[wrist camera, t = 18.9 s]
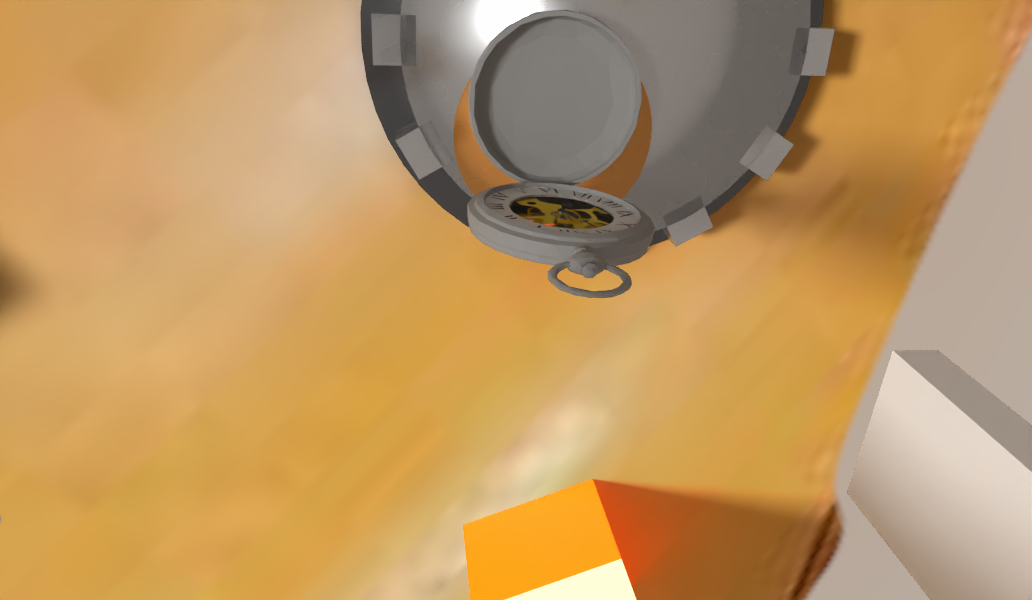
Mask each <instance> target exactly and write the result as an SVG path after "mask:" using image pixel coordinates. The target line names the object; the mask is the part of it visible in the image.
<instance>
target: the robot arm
mask: <svg viewBox="0 0 1032 600" xmlns="http://www.w3.org/2000/svg"><path fill="white" fill-rule="evenodd" d="M847 493H848V495H849V496H850V497H851V498H852V500H853V501H854V502H855V504H856V505H857V506H858V507H859V509H860V510H861V511H862V513H863V514H864V515H865V517H866V518H867V519H868V520H869V522H870V523H871V524H872V525H873V526H874V528H875V529H876V531H877V532H878V533H879V535H880V536H881V537H882V538H883V539H884V541H885V542H886V543H887V545H888V546H889V547H890V549H891V550H892V551H893V553H894V554H895V555H896V556H897V558H898V559H899V560H900V562H901V563H902V564H903V565H904V567H905V568H906V569H907V570H908V572H909V573H910V574H911V576H912V577H913V578H914V580H915V581H916V582H917V583H918V585H919V586H920V587H921V588H922V590H923V591H924V592H925V594H926V595H927V596H928V598H929V599H930V600H1032V425H1031V424H1030V423H1028V422H1027V421H1026V420H1024V419H1023V418H1022V417H1021V416H1020V415H1018V414H1017V413H1016V412H1015V411H1013V410H1012V409H1011V408H1010V407H1008V406H1007V405H1006V404H1005V403H1003V402H1002V401H1001V400H1000V399H998V398H997V397H996V396H995V395H993V394H992V393H991V392H990V391H988V390H987V389H986V388H984V387H983V386H982V385H981V384H980V383H978V382H977V381H976V380H975V379H973V378H972V377H971V376H970V375H968V374H967V373H966V372H965V371H963V370H962V369H961V368H960V367H958V366H957V365H956V364H955V363H953V362H952V361H951V360H950V359H948V358H947V357H946V356H945V355H943V354H942V353H941V352H940V351H938V350H923V351H922V350H919V351H917V350H916V351H914V350H911V351H910V350H906V351H893V352H892V355H891V358H890V362H889V364H888V368H887V371H886V374H885V377H884V380H883V383H882V386H881V389H880V392H879V395H878V399H877V401H876V405H875V408H874V411H873V414H872V417H871V420H870V423H869V426H868V429H867V432H866V435H865V438H864V442H863V444H862V448H861V451H860V454H859V457H858V460H857V463H856V466H855V469H854V472H853V475H852V478H851V482H850V484H849V488H848V491H847ZM0 523H1V517H0Z"/></svg>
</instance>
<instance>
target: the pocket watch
mask: <svg viewBox="0 0 1032 600" xmlns="http://www.w3.org/2000/svg"><path fill="white" fill-rule="evenodd" d="M641 101H642V98H641V81H640V77H639V73H638V68H637V65H636V63H635V61H634V59H633V57H632V54H631V52H630V51H629V49H628V48H627V46H626V45H625V44H624V42H623V41H622V39H621V38H620V37H619V36H618V35H617V34H616V33H615V32H614V31H612V30H611V29H610V28H609V27H608V26H607V25H606V24H604V23H603V22H601V21H599V20H598V19H596V18H594V17H591V16H587V15H584V14H580V13H577V12H573V11H569V10H553V11H541V12H534V13H532V14H530V15H528V16H526V17H522V18H521V19H519V20H518V21H516V22H514V23H512V24H510V25H508V26H506V27H505V28H504V29H503V30H502V31H501V32H499V33H498V35H497V36H496V37H495V38H494V39H492V40H491V41H490V43H489V44H488V46H487V47H486V48H485V50H484V51H483V53H482V55H481V56H480V58H479V59H478V61H477V64H476V67H475V70H474V73H473V76H472V79H471V82H470V87H469V90H468V102H469V119H470V123H471V126H472V129H473V132H474V135H475V138H476V141H477V143H478V145H479V146H480V148H481V150H482V151H483V153H484V154H485V155H486V156H487V157H488V158H489V160H490V161H491V162H492V163H493V164H494V165H495V166H496V167H497V168H498V169H499V170H500V171H502V172H503V173H504V174H506V175H507V176H509V177H510V178H512V179H514V180H516V181H518V182H521V183H511V184H505V185H500V186H495V187H492V188H489V189H487V190H484V191H483V192H481V193H479V194H477V195H475V196H473V197H472V199H471V200H470V201H469V202H468V204H467V215H468V222H469V226H470V230H471V233H472V234H473V235H474V236H475V237H476V238H477V239H478V240H479V241H481V242H482V243H483V244H485V245H487V246H489V247H491V248H493V249H495V250H497V251H500V252H502V253H505V254H508V255H511V256H513V257H516V258H520V259H524V260H528V261H532V262H536V263H542V264H549V265H555V266H554V267H552V268H551V269H550V270H549V271H548V279H549V281H550V282H551V283H552V284H553V285H554V286H555V287H557V288H558V289H560V290H561V291H564V292H567V293H570V294H573V295H576V296H583V297H589V298H608V297H614V296H617V295H620V294H622V293H624V292H625V291H627V290H629V289H630V287H631V285H632V283H631V278H630V276H629V275H628V273H626V272H625V271H623V270H622V269H620V268H618V267H616V266H618V265H622V264H626V263H630V262H632V261H635V260H637V259H639V258H641V257H642V256H643V255H644V254H645V253H646V252H647V249H648V247H649V245H650V243H651V242H652V239H653V235H654V230H655V226H654V224H653V222H652V220H651V218H650V217H648V216H647V215H646V214H645V213H644V212H643V211H641V210H640V209H639V208H638V207H636V206H635V205H633V204H631V203H629V202H627V201H625V200H623V199H621V198H618V197H616V196H613V195H610V194H607V193H603V192H600V191H597V190H592V189H588V188H584V187H580V186H572V185H576V184H580V183H582V182H584V181H586V180H588V179H590V178H592V177H594V176H596V175H598V174H600V173H601V172H602V171H604V170H605V169H606V168H607V167H609V166H610V165H611V164H612V163H613V162H614V161H615V160H616V159H617V158H618V157H619V155H620V154H621V153H622V152H623V150H624V149H625V147H626V145H627V144H628V142H629V140H630V139H631V137H632V135H633V133H634V131H635V128H636V125H637V121H638V118H639V114H640V108H641ZM530 220H534V221H530ZM545 224H557V225H552V226H548V225H545ZM565 268H568V269H569V270H570V271H571V272H573V273H576V274H580V275H583V276H584V277H585V278H593V277H594V276H595V275H596V274H599V273H600V272H602V271H603V270H604V269H605V270H608V271H610V272H612V273H614V274H616V275H618V276H620V278H621V279H622V281H623V283H622V284H621V285H620V286H619V287H618V288H616V289H613V290H606V291H595V292H593V291H588V290H584V289H579V288H574V287H570V286H568V285H566V284H565V283H563V282H562V281H560V280H559V279H558V278H557V274H558V273H559V272H560V271H561V270H563V269H565Z"/></svg>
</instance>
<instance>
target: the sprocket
mask: <svg viewBox="0 0 1032 600" xmlns="http://www.w3.org/2000/svg"><path fill="white" fill-rule="evenodd" d="M553 10H569V11H573V12H577V13H580V14H584V15H587V16H591V17H594V18H596V19H598V20H599V21H601V22H603V23H604V24H606V25H607V26H608V27H609V28H610V29H611V30H612V31H614V32H615V33H616V34H617V35H618V36H619V37H620V38H621V39H622V41H623V42H624V44H625V45H626V46H627V48H628V49H629V51H630V52H631V54H632V57H633V59H634V61H635V63H636V65H637V68H638V73H639V77H640V81H641V98H642V101H641V108H640V114H639V118H638V121H637V125H636V128H635V131H634V133H633V135H632V137H631V139H630V140H629V142H628V144H627V145H626V147H625V149H624V150H623V152H622V153H621V154H620V155H619V157H618V158H617V159H616V160H615V161H614V162H613V163H612V164H611V165H610V166H609V167H607V168H606V169H605V170H604V171H602V172H601V173H600V174H598V175H596V176H594V177H592V178H590V179H588V180H586V181H584V182H582V183H580V184H576V185H572V186H580V187H584V188H588V189H592V190H597V191H600V192H603V193H607V194H610V195H613V196H616V197H618V198H621V199H623V200H625V201H627V202H629V203H631V204H633V205H635V206H636V207H638V208H639V209H640V210H641V211H643V212H644V213H645V214H646V215H647V216H648V217H650V218H651V220H652V222H653V224H654V226H655V230H654V231H657V230H660V229H663V231H664V234H665V235H666V236H667V237H668V238H669V239H670V241H671V242H672V243H673V244H674V245H675V246H678V245H680V244H682V243H684V242H686V241H688V240H690V239H691V238H693V237H695V236H697V235H699V234H701V233H703V232H705V231H707V230H709V229H710V228H712V227H713V225H712V223H711V221H710V218H709V216H708V213H707V211H706V209H705V206H707V205H708V204H710V203H711V202H712V201H713V200H715V199H716V198H717V197H719V196H720V195H721V194H722V193H724V192H725V191H726V190H728V189H729V188H730V187H731V186H732V185H733V184H734V183H735V182H736V181H737V180H738V179H739V178H740V177H741V176H742V175H743V174H744V173H745V172H746V171H747V170H748V169H750V170H751V171H753V172H754V173H756V174H757V175H759V176H760V177H762V178H763V179H765V180H766V181H767V180H768V179H769V177H770V176H771V175H772V173H773V172H774V171H775V169H776V168H777V167H778V165H779V164H780V163H781V161H782V160H783V159H784V157H785V156H786V155H787V153H788V152H789V151H790V149H791V148H792V147H793V145H794V144H792V143H791V142H789V141H788V140H786V139H785V138H784V137H782V136H781V135H779V134H778V133H776V131H777V129H778V127H779V125H780V123H781V121H782V119H783V117H784V115H785V113H786V112H787V110H788V108H789V106H790V103H791V101H792V98H793V95H794V93H795V90H796V87H797V85H798V82H799V79H800V76H801V75H808V76H825V74H826V69H827V65H828V60H829V55H830V50H831V45H832V40H833V36H834V31H835V29H833V28H828V27H823V26H819V25H810V10H811V0H402V4H401V11H391V10H372V13H371V22H372V51H373V65H389V66H402V72H403V76H404V81H405V86H406V90H407V95H408V99H409V102H410V105H411V107H412V110H413V113H414V116H415V119H416V120H415V121H413V122H411V123H409V124H408V125H406V126H404V127H402V128H401V129H399V130H397V131H396V137H395V141H396V142H397V144H398V146H399V147H400V149H401V151H402V152H403V154H404V156H405V157H406V159H407V161H408V162H409V164H410V165H411V167H412V169H413V170H414V172H415V174H416V175H417V177H418V179H421V178H423V177H425V176H427V175H428V174H430V173H432V172H434V171H436V170H437V169H439V168H441V167H443V169H444V170H445V171H446V172H447V173H448V175H449V176H450V177H451V178H452V179H453V180H454V181H455V182H456V184H457V185H458V186H459V187H460V188H461V189H462V190H463V191H464V192H466V193H467V194H468V195H469V196H470V197H471V198H472V197H473V196H475V195H477V194H479V193H481V192H483V191H484V190H487V189H489V188H492V187H495V186H500V185H505V184H511V183H521V182H518V181H516V180H514V179H512V178H510V177H509V176H507V175H506V174H504V173H503V172H502V171H500V170H499V169H498V168H497V167H496V166H495V165H494V164H493V163H492V162H491V161H490V160H489V158H488V157H487V156H486V155H485V154H484V153H483V151H482V150H481V148H480V146H479V145H478V143H477V141H476V138H475V135H474V132H473V129H472V126H471V123H470V119H469V102H468V90H469V87H470V82H471V79H472V76H473V73H474V70H475V67H476V64H477V61H478V59H479V58H480V56H481V55H482V53H483V51H484V50H485V48H486V47H487V46H488V44H489V43H490V41H491V40H492V39H494V38H495V37H496V36H497V35H498V33H499V32H501V31H502V30H503V29H504V28H505V27H506V26H508V25H510V24H512V23H514V22H516V21H518V20H519V19H521V18H522V17H526V16H528V15H530V14H532V13H534V12H541V11H553ZM467 218H468V215H467ZM530 221H534V220H530ZM545 225H548V226H552V225H557V224H545ZM469 227H470V226H469Z"/></svg>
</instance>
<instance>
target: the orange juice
mask: <svg viewBox="0 0 1032 600" xmlns="http://www.w3.org/2000/svg"><path fill="white" fill-rule="evenodd" d="M463 530H464V540H465V549H466V559H467V569H468V579H469V589H470V598H471V600H636V597H635V594H634V591H633V588H632V586H631V583H630V580H629V577H628V575H627V572H626V569H625V566H624V564H623V561H622V558H621V555H620V553H619V550H618V547H617V544H616V542H615V539H614V536H613V533H612V531H611V528H610V525H609V522H608V520H607V517H606V514H605V511H604V509H603V506H602V503H601V500H600V498H599V495H598V492H597V490H596V487H595V484H594V481H593V479H592V480H589V481H586V482H583V483H580V484H578V485H575V486H572V487H569V488H566V489H564V490H561V491H558V492H555V493H552V494H549V495H547V496H544V497H541V498H538V499H535V500H532V501H530V502H527V503H524V504H521V505H518V506H516V507H513V508H510V509H507V510H504V511H501V512H499V513H496V514H493V515H490V516H487V517H484V518H482V519H479V520H476V521H473V522H470V523H467V524H465V525H463Z"/></svg>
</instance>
